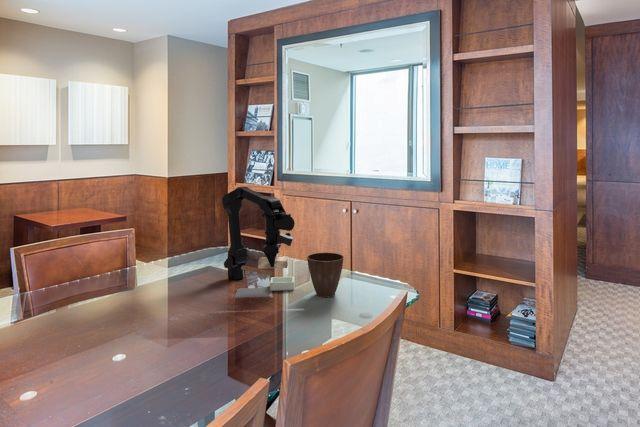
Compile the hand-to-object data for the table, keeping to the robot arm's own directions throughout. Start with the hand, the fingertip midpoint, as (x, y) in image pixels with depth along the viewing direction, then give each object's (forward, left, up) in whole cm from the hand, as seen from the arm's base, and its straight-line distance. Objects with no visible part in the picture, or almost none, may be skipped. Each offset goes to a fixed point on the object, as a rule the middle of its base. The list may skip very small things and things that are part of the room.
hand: (273, 264), depth 200 cm
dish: (+3, +2, -11) cm, 12 cm away
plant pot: (+21, -7, -11) cm, 25 cm away
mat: (-9, -4, -11) cm, 15 cm away
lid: (0, 0, -1) cm, 0 cm away
